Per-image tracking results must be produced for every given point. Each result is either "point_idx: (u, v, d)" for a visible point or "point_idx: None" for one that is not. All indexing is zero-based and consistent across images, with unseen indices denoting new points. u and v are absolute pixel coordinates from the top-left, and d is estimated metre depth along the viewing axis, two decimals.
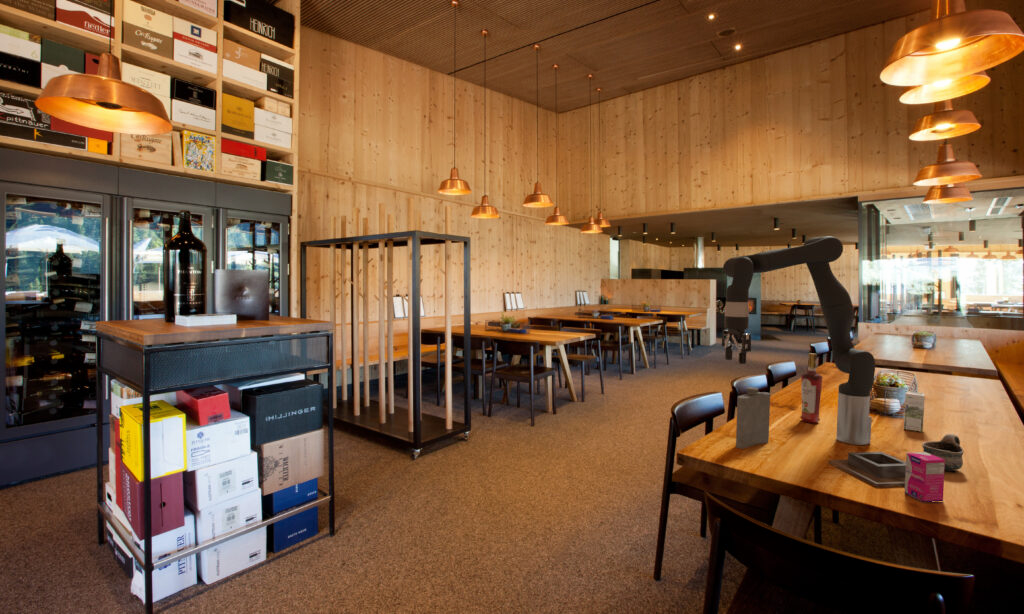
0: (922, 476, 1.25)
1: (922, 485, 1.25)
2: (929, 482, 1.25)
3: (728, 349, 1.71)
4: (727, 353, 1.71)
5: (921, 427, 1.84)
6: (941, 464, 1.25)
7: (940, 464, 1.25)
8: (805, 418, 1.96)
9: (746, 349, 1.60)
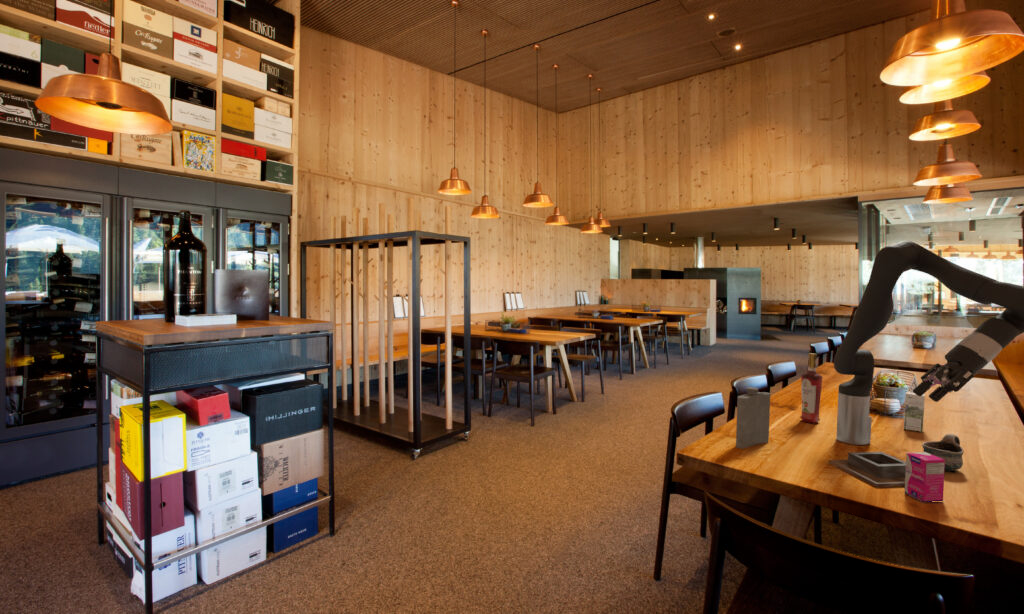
0: (922, 476, 1.25)
1: (922, 485, 1.25)
2: (929, 482, 1.25)
3: None
4: None
5: (921, 427, 1.84)
6: (941, 464, 1.25)
7: (940, 464, 1.25)
8: (805, 418, 1.96)
9: None
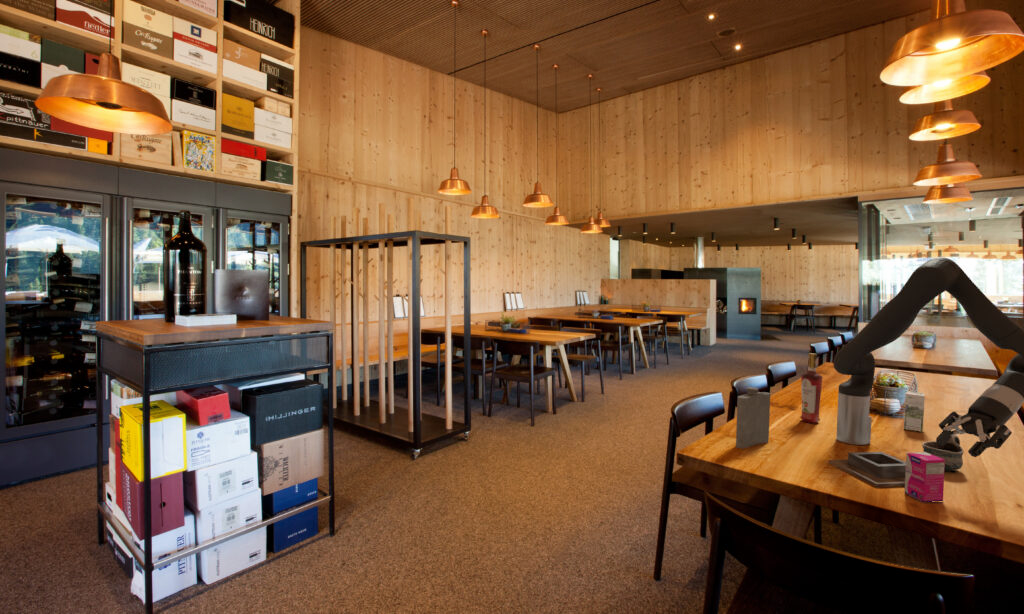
0: (922, 476, 1.25)
1: (922, 485, 1.25)
2: (929, 482, 1.25)
3: None
4: None
5: (921, 427, 1.84)
6: (941, 464, 1.25)
7: (940, 464, 1.25)
8: (805, 418, 1.96)
9: None
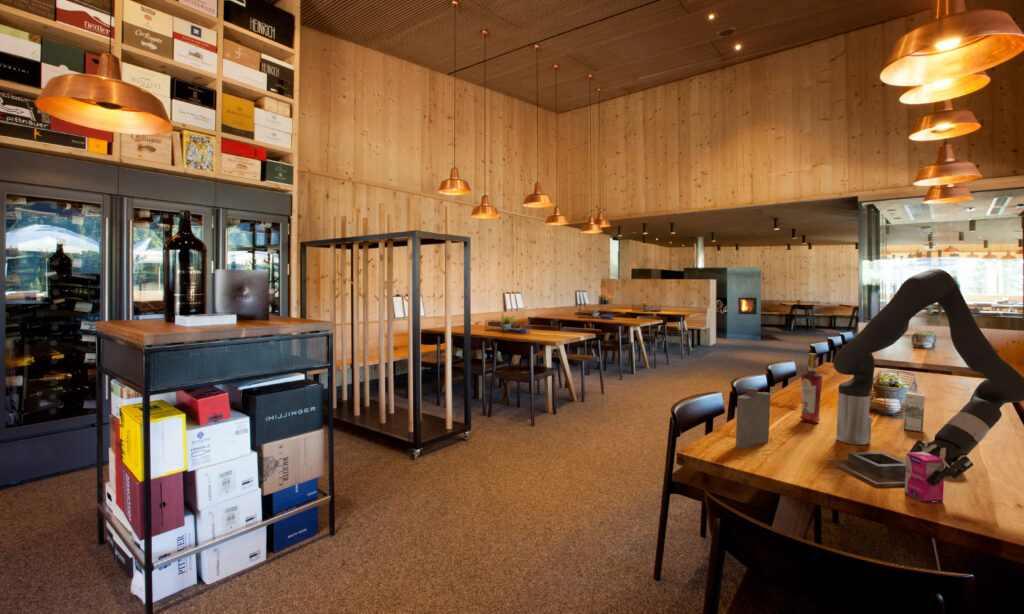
0: (922, 475, 1.25)
1: (922, 485, 1.25)
2: None
3: None
4: None
5: (921, 427, 1.84)
6: None
7: (940, 464, 1.25)
8: (805, 418, 1.96)
9: None
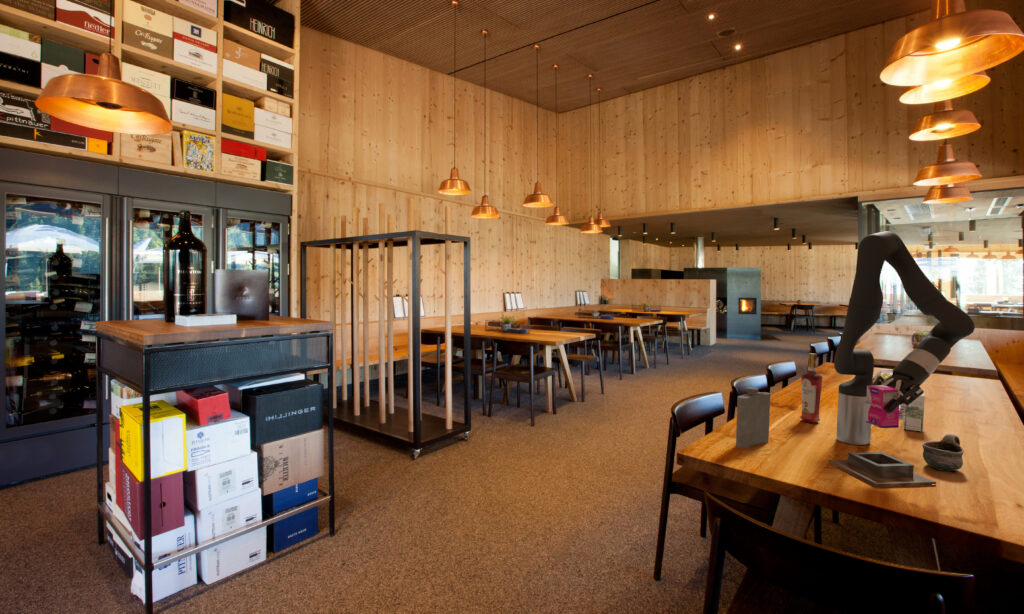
0: (879, 404, 1.41)
1: (879, 413, 1.41)
2: None
3: None
4: None
5: (921, 427, 1.84)
6: None
7: (895, 393, 1.40)
8: (805, 418, 1.96)
9: None
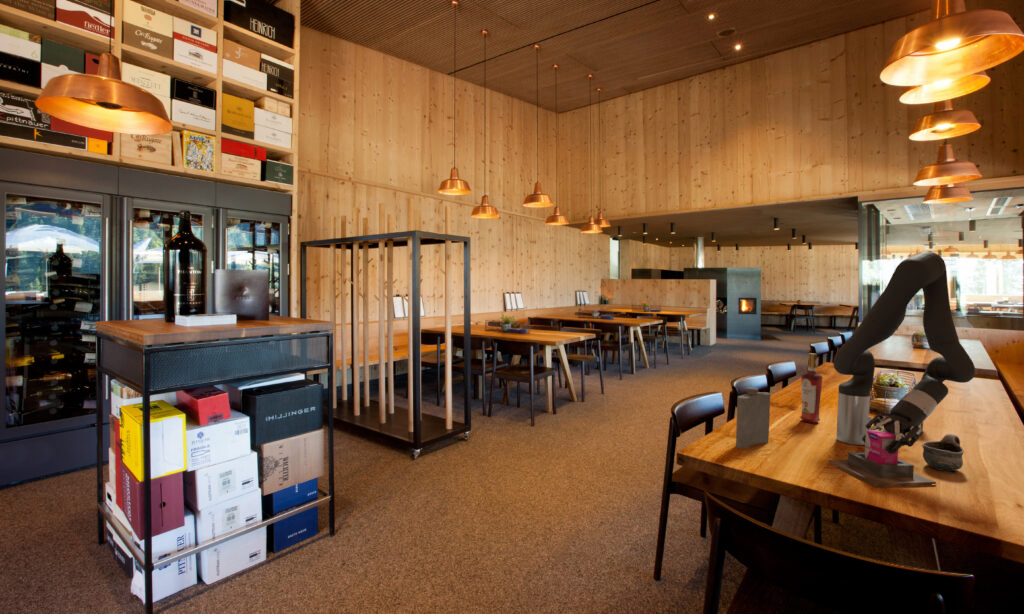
0: (878, 450, 1.41)
1: (878, 459, 1.41)
2: (885, 456, 1.41)
3: None
4: None
5: (921, 427, 1.84)
6: None
7: None
8: (805, 418, 1.96)
9: None
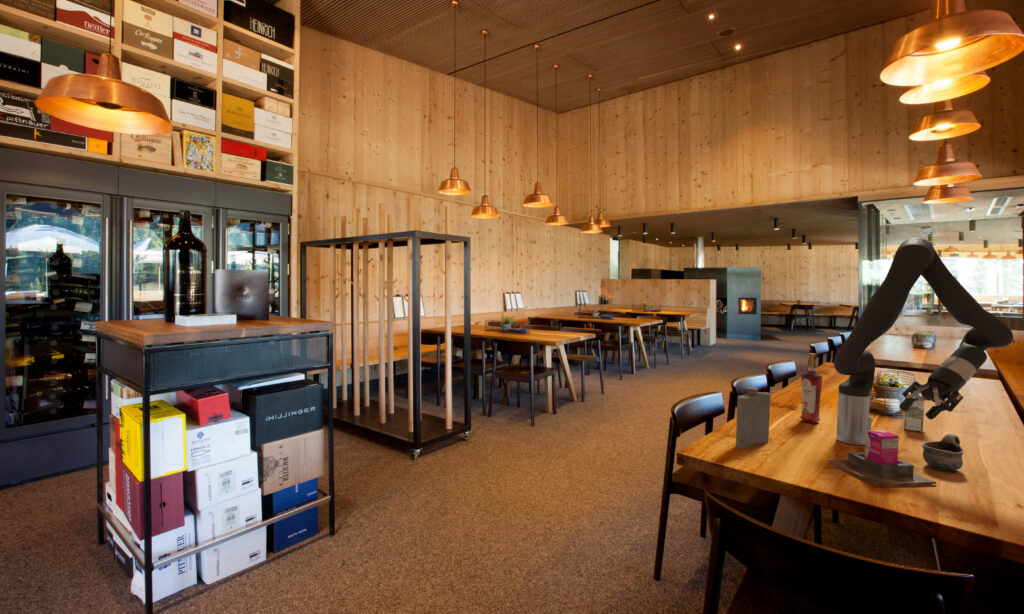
0: (878, 450, 1.41)
1: (878, 459, 1.41)
2: (885, 456, 1.41)
3: None
4: None
5: (921, 427, 1.84)
6: (895, 440, 1.41)
7: (894, 440, 1.41)
8: (805, 418, 1.96)
9: None
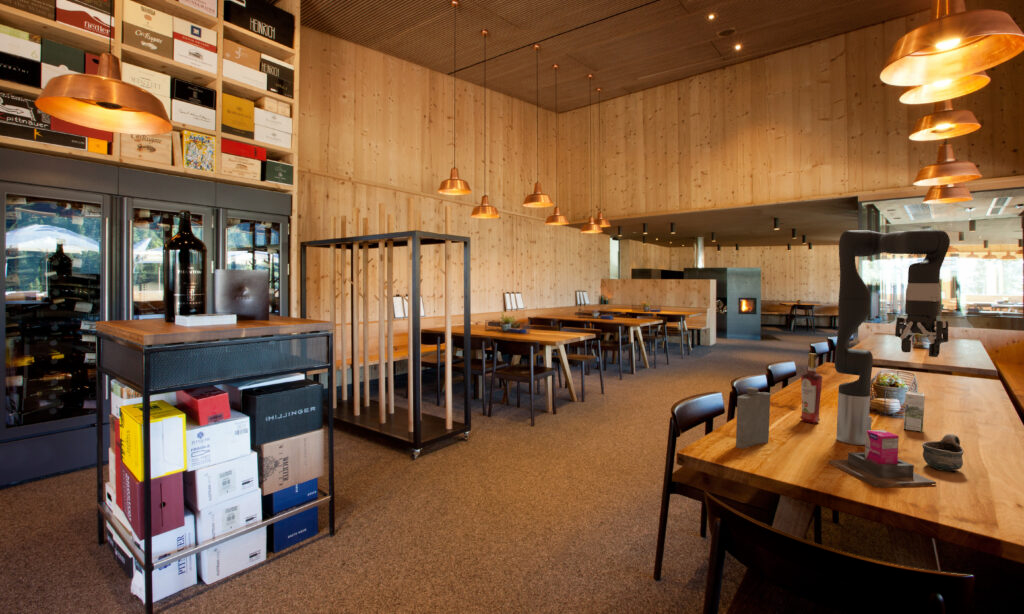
0: (878, 450, 1.41)
1: (878, 459, 1.41)
2: (885, 456, 1.41)
3: None
4: None
5: (921, 427, 1.84)
6: (895, 440, 1.41)
7: (894, 440, 1.41)
8: (805, 418, 1.96)
9: None
